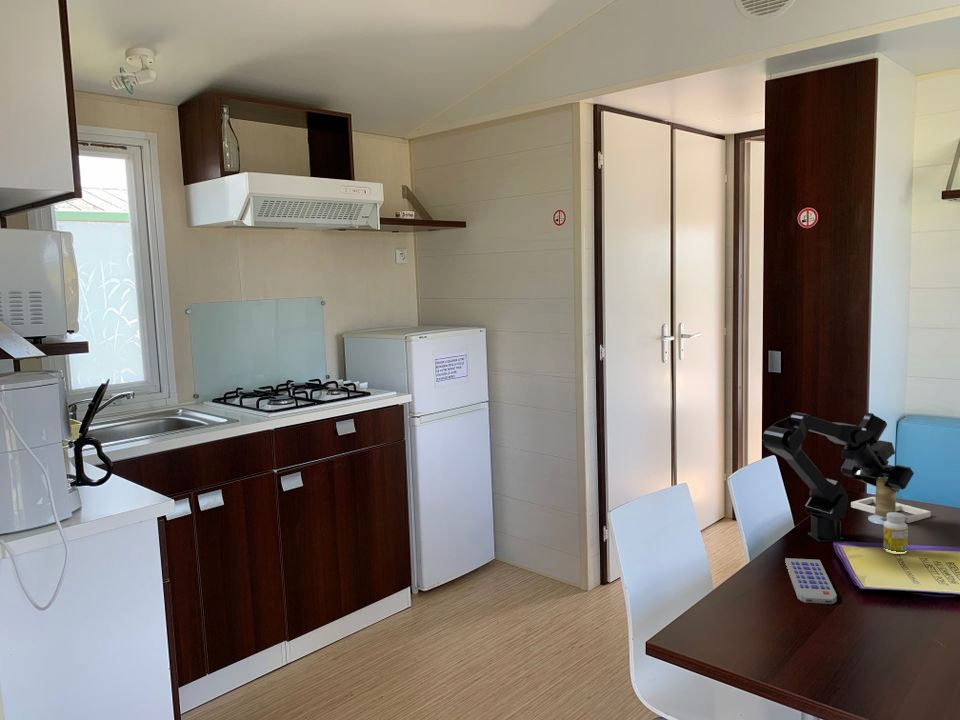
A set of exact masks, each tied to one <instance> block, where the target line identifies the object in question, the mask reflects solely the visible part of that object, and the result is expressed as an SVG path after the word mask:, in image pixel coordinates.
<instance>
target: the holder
mask: <svg viewBox="0 0 960 720" xmlns="http://www.w3.org/2000/svg"><path fill="white" fill-rule="evenodd" d="M875 502H876V496H870V497H866V498H862V499H858V500H854V501H851V502H850V508H853V509H857V510H859V511H863V512H868V513H871V514H873V515H876V514H875V506H873V505H871V504H875ZM900 511H902V512H906V513H909V515H906V514H904V515H905V523H906V524H910V523H913V522H917V521H920V520H923V519H924V520H925V519H927V518H931V516H932V511H930V510H926V509H923V508H918V507H915V506H911V505H906V504H903V503H899V502H896V507H895V512H896V513H898V512H900Z"/></svg>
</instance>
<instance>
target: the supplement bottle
mask: <svg viewBox="0 0 960 720" xmlns="http://www.w3.org/2000/svg"><path fill="white" fill-rule="evenodd" d="M905 515H906V514H903V513H901V512H889V513H887V517H886V518H887V521H885V522H884V525H883V549H884V548H885V549H888V550H891V551H896V552H905V551H907V550H909V549H908V548H909V547H908V545H909V544H908V543H909V542H908V541H909V540H908V539H909V536H908V535H909V527H908V523H906V522H904V521H905Z"/></svg>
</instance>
